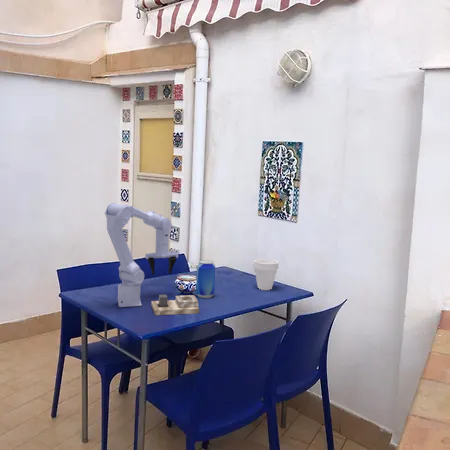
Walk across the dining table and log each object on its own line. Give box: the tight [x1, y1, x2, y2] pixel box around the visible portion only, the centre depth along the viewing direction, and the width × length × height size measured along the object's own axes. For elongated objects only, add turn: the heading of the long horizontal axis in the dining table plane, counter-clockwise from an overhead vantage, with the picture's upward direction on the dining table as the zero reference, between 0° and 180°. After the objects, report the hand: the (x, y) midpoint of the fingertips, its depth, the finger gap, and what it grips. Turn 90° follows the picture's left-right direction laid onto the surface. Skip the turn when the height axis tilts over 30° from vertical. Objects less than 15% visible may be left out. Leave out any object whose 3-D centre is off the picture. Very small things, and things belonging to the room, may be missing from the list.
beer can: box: [195, 259, 216, 299], centre depth 235 cm, size 8×8×16 cm
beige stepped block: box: [150, 294, 200, 316], centre depth 214 cm, size 18×13×4 cm
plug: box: [158, 294, 168, 307], centre depth 213 cm, size 3×4×6 cm
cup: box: [253, 258, 280, 291], centre depth 252 cm, size 12×12×14 cm
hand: (161, 273), depth 232 cm, fingers open, 7 cm apart
